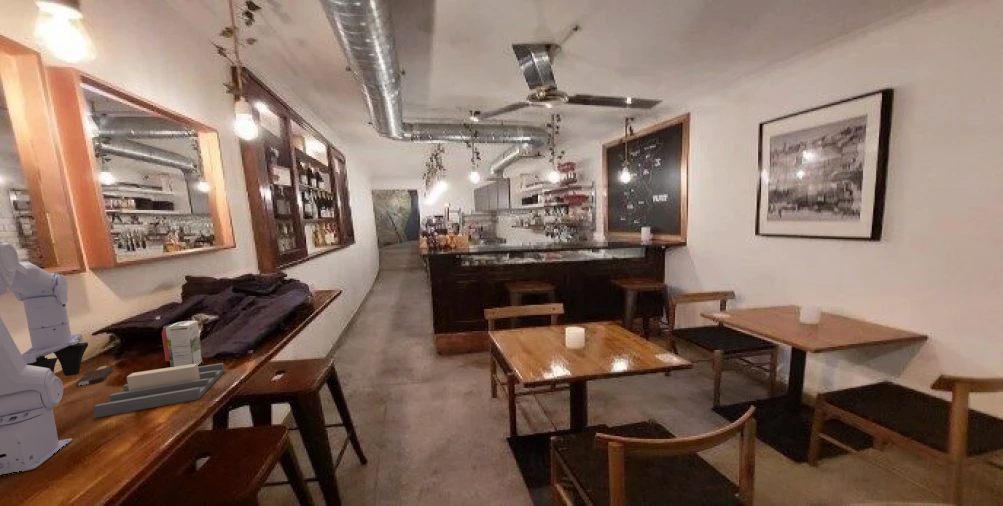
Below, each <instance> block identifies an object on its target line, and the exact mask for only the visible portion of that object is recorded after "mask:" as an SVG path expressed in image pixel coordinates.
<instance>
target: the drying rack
mask: <svg viewBox="0 0 1003 506" xmlns="http://www.w3.org/2000/svg"><path fill="white" fill-rule="evenodd" d="M198 368H199V375H200V380H194V381H188V382H182V383H176V384H170V385H163V386H157V387H151V388H145V389H139V390H133V391H129V388H128V383H126V384H124V385H123V386H122V387H123V391H122V392H115V393H111V394H110V395H109V396H108V397H109V401H108V402H103V403H99V404H98V403H97V404H96V405H94V406H93V411H94V412H93V416H94V418H95V419H96V418H102V417H107V416H111V415H118V414H122V413H124V414H125V413H129V412H135V411H139V410H140V411H141V410H148V409H151V408H157V407H164V406H169V405H173V404H174V405H175V404H180V403H184V402H191V401H197V400H199V399H201V397H203V395H204V394H206V392H207V391H208V390H209V389H210V388H211V387H212V386H213V384H215V382H216V381H217V380H218V379H219V378H220V377H221V376H222V375H223V374H224V373H225V371H226V368H225V367H224V362H219V363H213V364H208V365H199V366H198Z"/></svg>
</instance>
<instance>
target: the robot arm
mask: <svg viewBox="0 0 1003 506" xmlns="http://www.w3.org/2000/svg"><path fill="white" fill-rule="evenodd" d="M10 290H11V292H12V294H13V295H14V296H15V298H16V300H17V301H19V302H22V303H23V308H24V312H25V318H26V323H27V328H28V333H29V339H30V343H31V348H29V349H27V350H25V352H23V353H21V352H20V349H19V347H18V346H17V344H16V343H15V340H14V338H13V337H12V335H11V333H10V332H9V330H8V328H7V326H6V324H5V322H4V321H3V318H2V317H1V316H0V475H1V474H5V473H11V472H17V473H20V472H19V471H22V472H26V471H31V470H34V469H36V468H38V467H39V466H41V465H42V464H43V463H45V462H46V461H47V460H49V458H51V457H52V456H53V454H54V453H55V454H56V453H58V452H59V451H60V450H62V449H63V448H64V447H66V446H67V445H68V444H69V443H71V442H72V441H73V438H70V437H69V438H65V439H59V437H58V436H59V435H58V431H57V426H56V420H55V415H54V409H53V407H54V408H55V407H56V406H57V405H58V404H59V403H60V402H61V400H62V398H63V394H64V385H63V381H62V380H61V378H60V377H58V376H57V375H56V374H55V367H56V365H57V362H58V361H59V363H60V366H61V370H62V373H63V374H64V376H65V377H70V376H76V375H79V373H80V370H81V364H82V361H83V360H82V359H83V357H84V354H85V352H86V350H87V348H88V347H89V343H88V342H83V341H84V339H83V334H82V333H77V334H71V326H70V323H69V322H70V321H69V315H68V310H67V305H66V304H67V303H68V302H69V300H68V290H69V285H68V281H67V278H66V276H65V275H64V274H60V273H58V272H49V271H46V270H45V269H43V268H41V267H39V266H38V265H35V264H33V263H32V262H30V261H28V260H26V261H25V260H24V261H23V260H22V261H20V259H19V255H18V252H17V250H16V248H15V247H14V246H13V245H12V244H10V243H9V242H7V241H4V240H0V296H3V295H5V294H6V293H7V294H8V293H9V292H10ZM51 354H54V356H55V357H53V358H52V357H51V358H48V357H47V356H49V355H51ZM66 444H67V445H66ZM63 446H64V447H63ZM62 447H63V448H62ZM59 449H60V450H59ZM58 450H59V451H58ZM57 451H58V452H57ZM55 454H54V455H55Z"/></svg>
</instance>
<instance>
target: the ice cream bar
mask: <svg viewBox="0 0 1003 506" xmlns="http://www.w3.org/2000/svg"><path fill="white" fill-rule="evenodd" d="M112 371H113V368H112V366H111V367H110V366H109V367H107V365H103V366H99V367H98V368H97V369H95V370H89V371H86V372H85V373H84V374H83V375H82V376H81V377H80V379H78V380H77V381H76V384H75V385H76V387H77V386H79V387H81V386H80V385H82V386H86V384H87V385H88V386H92V385H95V383H96V384H99V383H102V382H104V381H106V380H107V378H108V377H107V376H109V375H110V374H111V373H112ZM110 372H111V373H110ZM91 384H92V385H91Z"/></svg>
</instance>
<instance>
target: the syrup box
mask: <svg viewBox="0 0 1003 506" xmlns="http://www.w3.org/2000/svg"><path fill="white" fill-rule="evenodd" d="M172 324H173V325H171V326H169V327H167V328H166V335H167V343H168V351H169V359H170V363H169V364H170V367H176V366H183V365H189V364H196V363H198V365H199V364H200V363H201V362H202V363H203V356H202V347H201V336H200V329H199V321H198V320H184V321H183V320H182V321H178V322H175V324H174V323H172ZM200 365H201V364H200ZM200 365H199V366H200Z"/></svg>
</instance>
